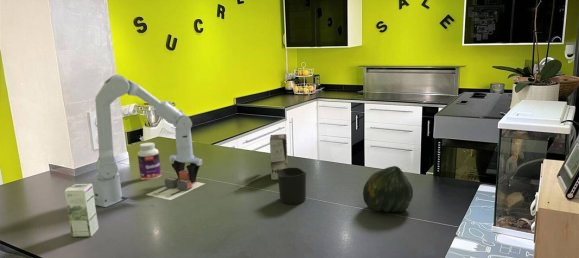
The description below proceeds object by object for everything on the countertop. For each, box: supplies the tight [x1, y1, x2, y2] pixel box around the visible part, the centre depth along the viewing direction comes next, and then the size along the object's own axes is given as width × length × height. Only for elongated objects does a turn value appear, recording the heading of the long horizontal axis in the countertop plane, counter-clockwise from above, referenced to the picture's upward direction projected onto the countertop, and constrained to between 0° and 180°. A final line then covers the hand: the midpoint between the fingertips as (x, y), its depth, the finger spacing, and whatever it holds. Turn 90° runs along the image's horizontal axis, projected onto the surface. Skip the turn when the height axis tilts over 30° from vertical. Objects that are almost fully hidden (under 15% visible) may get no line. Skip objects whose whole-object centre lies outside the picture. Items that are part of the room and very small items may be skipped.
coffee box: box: [269, 133, 289, 180], centre depth 169 cm, size 9×6×16 cm
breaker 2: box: [177, 179, 192, 191], centre depth 156 cm, size 3×5×3 cm, turn 61°
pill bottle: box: [137, 142, 162, 181], centre depth 172 cm, size 8×8×14 cm
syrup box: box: [64, 183, 99, 238], centre depth 125 cm, size 6×6×14 cm
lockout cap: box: [179, 168, 195, 185], centre depth 162 cm, size 4×4×5 cm
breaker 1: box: [164, 176, 179, 189], centre depth 159 cm, size 3×4×3 cm
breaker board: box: [145, 181, 206, 201], centre depth 157 cm, size 18×12×1 cm, turn 151°
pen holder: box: [277, 167, 307, 205], centre depth 145 cm, size 9×9×10 cm
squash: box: [362, 165, 414, 213], centre depth 134 cm, size 14×15×15 cm
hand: (187, 181), depth 162 cm, fingers open, 5 cm apart
